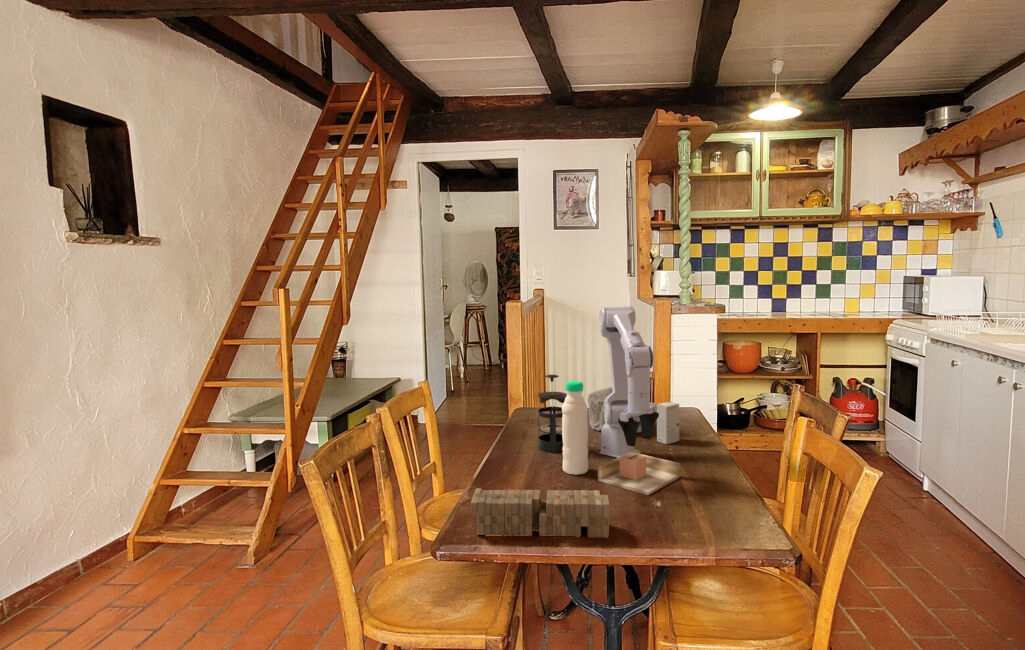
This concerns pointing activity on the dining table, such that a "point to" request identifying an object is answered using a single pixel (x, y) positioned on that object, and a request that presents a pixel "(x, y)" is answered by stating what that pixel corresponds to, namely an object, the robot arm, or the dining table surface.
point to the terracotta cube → (633, 466)
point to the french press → (551, 421)
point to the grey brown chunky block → (600, 408)
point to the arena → (656, 477)
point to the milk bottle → (575, 430)
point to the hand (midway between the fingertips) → (638, 442)
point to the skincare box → (668, 422)
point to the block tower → (541, 512)
